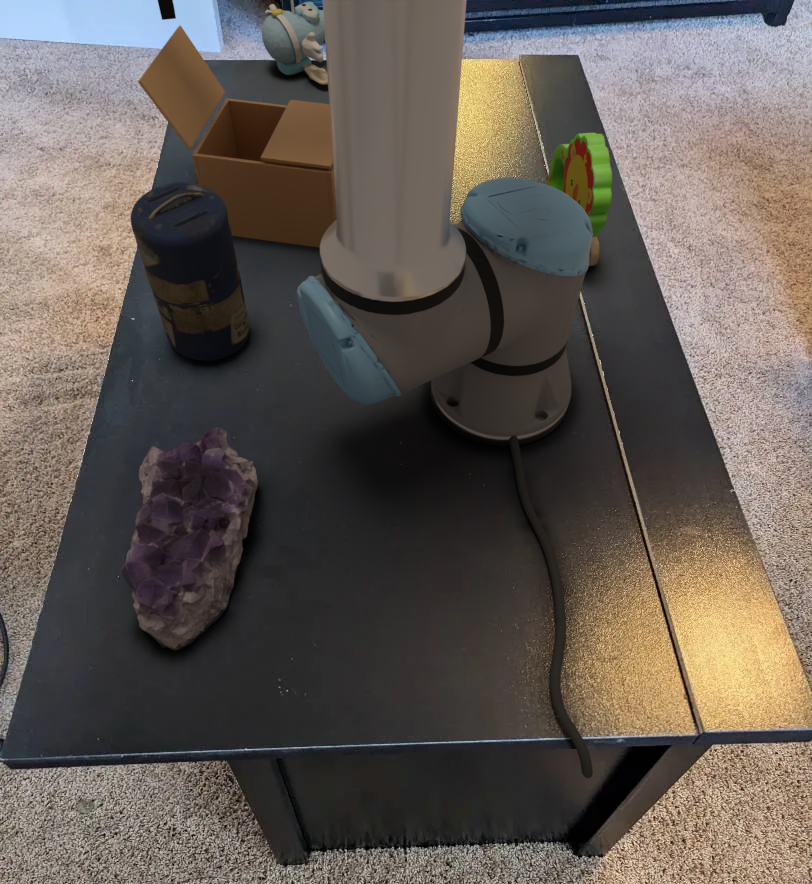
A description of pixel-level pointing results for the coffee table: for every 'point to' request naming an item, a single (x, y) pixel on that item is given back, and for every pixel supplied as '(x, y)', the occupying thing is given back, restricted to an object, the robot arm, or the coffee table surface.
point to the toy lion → (585, 179)
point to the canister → (192, 269)
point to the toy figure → (296, 39)
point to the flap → (182, 87)
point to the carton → (271, 169)
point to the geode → (188, 537)
